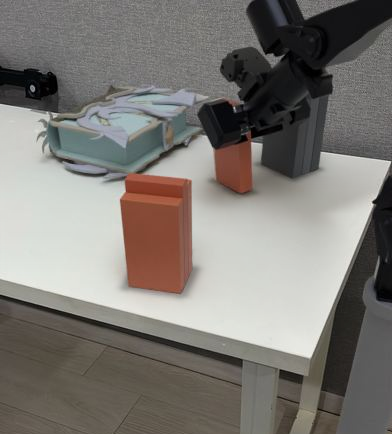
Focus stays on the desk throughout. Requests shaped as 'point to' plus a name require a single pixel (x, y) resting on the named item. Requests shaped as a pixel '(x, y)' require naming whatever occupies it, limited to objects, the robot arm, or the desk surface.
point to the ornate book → (121, 129)
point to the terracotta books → (157, 231)
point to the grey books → (297, 142)
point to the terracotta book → (234, 164)
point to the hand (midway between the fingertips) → (228, 141)
